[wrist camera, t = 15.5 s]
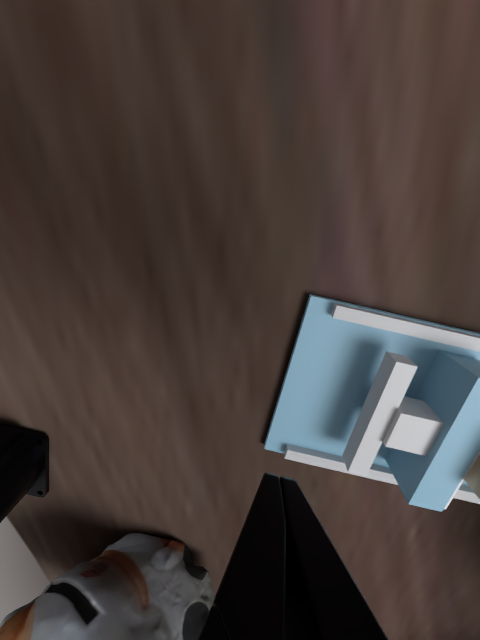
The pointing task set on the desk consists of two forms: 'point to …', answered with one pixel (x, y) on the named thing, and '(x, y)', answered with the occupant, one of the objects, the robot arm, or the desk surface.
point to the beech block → (474, 478)
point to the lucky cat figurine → (121, 597)
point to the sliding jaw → (421, 427)
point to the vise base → (351, 379)
